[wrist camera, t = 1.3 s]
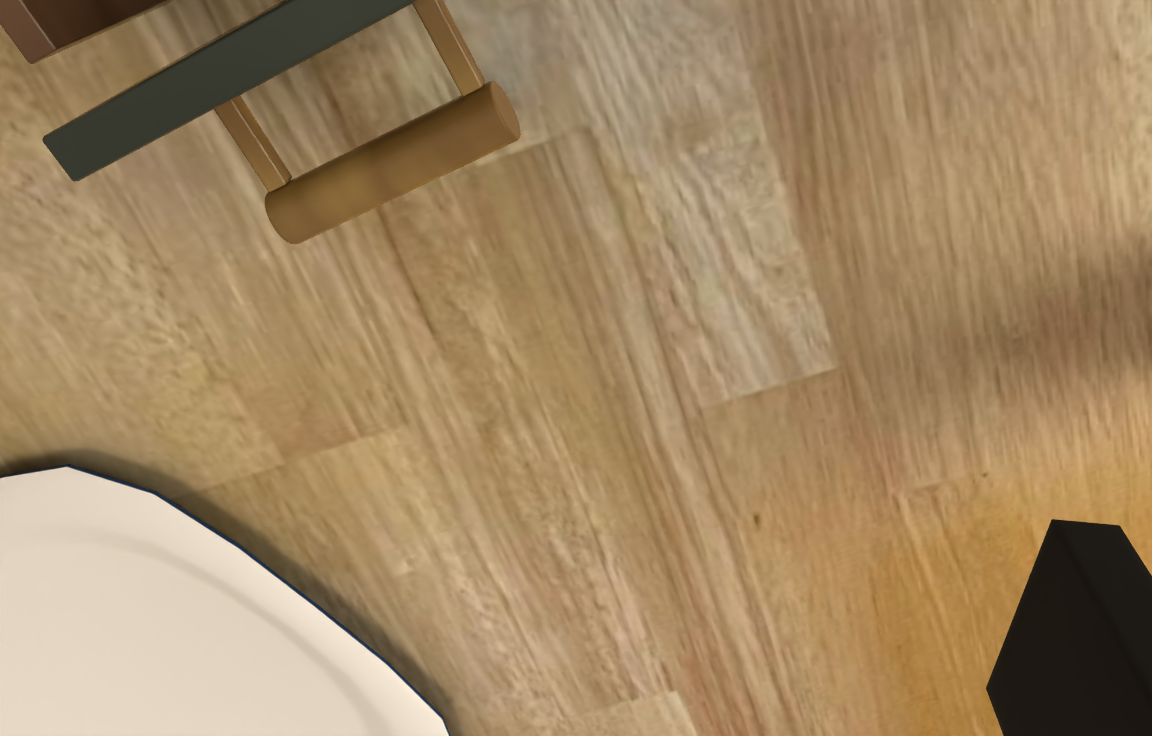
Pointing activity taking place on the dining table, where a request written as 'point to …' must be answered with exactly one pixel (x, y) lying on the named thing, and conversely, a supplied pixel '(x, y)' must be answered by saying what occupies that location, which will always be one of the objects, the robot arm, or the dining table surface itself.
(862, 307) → the dining table surface
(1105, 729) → the robot arm
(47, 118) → the dining table surface
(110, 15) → the drawer
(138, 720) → the plate
